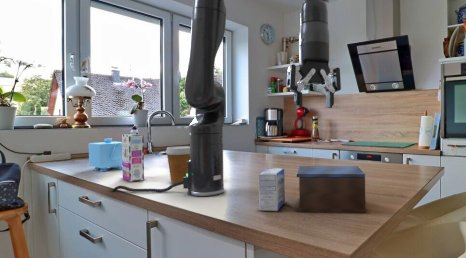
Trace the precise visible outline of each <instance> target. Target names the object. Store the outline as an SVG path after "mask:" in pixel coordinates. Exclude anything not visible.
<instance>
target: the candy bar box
mask: <svg viewBox="0 0 466 258" xmlns="http://www.w3.org/2000/svg"><path fill="white" fill-rule="evenodd" d="M144 141H145V139H144V134H121V142H122V169H121V171H122V173H121V174H122V176H121V177H122V179H124V180H125V181H127V182H129V183H133V182H135V183H136V182H143V181H145V158H144V157H145V149H144V148H145V147H144V145H145V143H144Z"/></svg>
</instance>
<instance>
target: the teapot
mask: <svg viewBox="0 0 466 258" xmlns="http://www.w3.org/2000/svg"><path fill="white" fill-rule="evenodd" d="M103 141H104V142H103ZM103 141H102V142H101V141H100V142H88V166H90V167H93V168H94V169H93V170H94V171H99V172H108V168H110V169H116V170H122V141H113V138H111V137H110V138H104V140H103Z"/></svg>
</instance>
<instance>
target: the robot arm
mask: <svg viewBox="0 0 466 258" xmlns="http://www.w3.org/2000/svg"><path fill="white" fill-rule="evenodd" d="M329 1H330V0H303V2H302V3H301V5H300V10H299V18H300V19H299V25H300V26H299V34H298V35H299V36H298V37H299V39H298V40H299V41H298V43H299V45H298V46H299V47H298V48H299V51H298V52H299V53H298V55H299V57H298V58H299V59H298V60H299V65H296V64H294V63H293V64H290V65H288V66H287V71H286V72H287V73H286V89H287V90H288V91H291V92H293V98H294V99H293V104H294V106H295V107H296V108H297V109H299V108H301V109H302V108H303V92H302V90H303V89H304V88H305V86H307V85H320V87H322V89H324V91H325V92H326V93H325V108H326V109H332V108H333V106H334V104H335V93H336V92H339V91H341V89H342V83H341V81H342V80H341V69H340V67H335V68H330V66H329V62H330V31H329V8H328V7H329ZM226 21H227V5H226V0H192V10H191V25H190V26H191V27H190V28H191V29H190V30H191V31H190V43H189V56H188V57H189V58H188V62H187V63H188V65H187V69H186V75H185V81H184V87H183V97H184V100H185V101H186V104H187V105H188V106H189V107H190V108H192V109H195V112H194V113H195V114H194V119H193V120H192V122H191V123H190V124H189V146H190V160H189V161H188V162H187V172H188V174H187V176H186V177H184V178H183V181H180V182H177V183H171V184H170V185H169V186H168V187H166V188H132V187H129V186H126V185H117V186H115V187H114V188H112V190H111V192H113V193H114V192H116V191H117V190H120V189H122V190H125V191H128V192H131V193H165V192H168V191H171V190H172V189H173V188H175V187H178V186H181V185H182V186H183V187H182V189H183V190H187V195H189V196H196V197H210V196H216V195H220V194H223V193H224V191H225V187H224V186H225V184H224V182H225V181H224V135H223V132H224V131H223V129H224V126H225V121H226V94H225V93H226V92H225V89H224V87H223V85H222V83H220V82H219V81H217V80H215V61H216V57H217V54H218V51H219V49H220V47H221V45H222V43H223V40H224V37H225V33H226V25H227V22H226ZM298 73H299V75H300V76H301V77H300V78H299V80H298V81H297V83H296V74H298ZM329 76H330V77H331V79H330V78H329Z"/></svg>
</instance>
